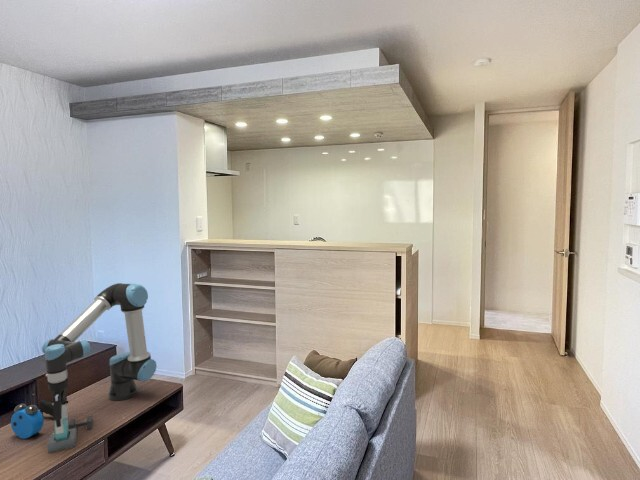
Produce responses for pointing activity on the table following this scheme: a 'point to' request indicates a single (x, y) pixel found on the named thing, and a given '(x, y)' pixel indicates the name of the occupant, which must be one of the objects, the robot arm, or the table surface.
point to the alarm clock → (26, 421)
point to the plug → (65, 429)
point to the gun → (46, 407)
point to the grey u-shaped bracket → (88, 422)
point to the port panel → (62, 441)
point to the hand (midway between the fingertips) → (62, 425)
